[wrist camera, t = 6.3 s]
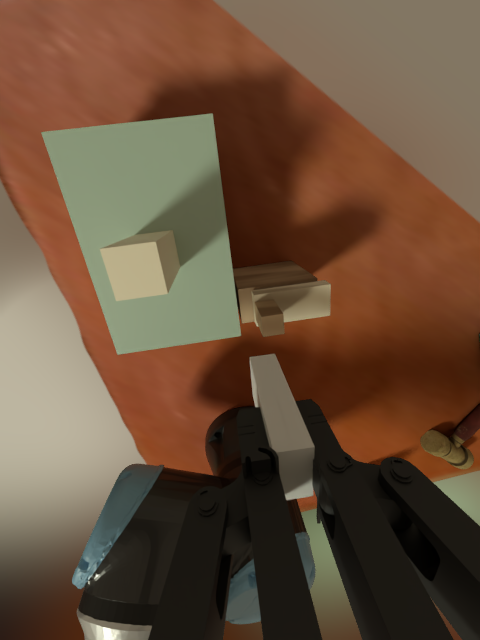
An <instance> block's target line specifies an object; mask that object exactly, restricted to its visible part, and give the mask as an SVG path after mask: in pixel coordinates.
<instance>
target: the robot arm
mask: <svg viewBox="0 0 480 640" xmlns="http://www.w3.org/2000/svg"><path fill="white" fill-rule="evenodd" d="M249 358H250V370H251V381H252V393H253V399H254V403H255V407H253V406H247V407H240V408H236V409H232V410H230V411H228V412H226V413H224V414H222V415H221V416H219V417H218V418H217V419H216V420H215V421H214V422H213V423H212V424H211V425H210V427H209V429H208V431H207V434H206V441H205V450H206V456H207V459H208V462H209V464H210V467H211V470H212V472H213V475H214V476H213V475H207V474H201V473H195V472H189V471H183V470H177V469H171V468H165V467H164V465H159V466H154V465H145V464H132V465H129V466H128V467H126V468H125V469H124V470H123V471H122V472H121V473H120V475H119V477H118V479H117V480H116V482H115V484H114V487H113V488H112V491H111V493H110V495H109V497H108V499H107V501H106V503H105V505H104V508H103V510H102V512H101V514H100V516H99V519H98V521H97V523H96V525H95V527H94V530H93V532H92V534H91V536H90V538H89V541H88V543H87V545H86V547H85V550H84V552H83V555H82V557H81V560H80V562H79V564H78V567H77V568H76V570H75V573H74V575H73V578H72V583H73V584H74V585H75V586H77V588H78V589H82V587H85V588H84V592H83V595H82V598H81V601H80V604H79V607H78V610H77V616H78V618H79V621H80V623H81V626H82V628H83V631H84V635H85V640H223V635H224V627H225V620H226V621H227V620H228V621H229V622H230V623H233V624H248V623H255V622H259V621H261V623H262V632H263V640H322V637H321V633H320V629H319V625H318V621H317V617H316V614H315V610H314V606H313V602H312V598H311V594H310V588H311V587H312V585H313V582H314V578H315V564H314V560H313V556H312V551H311V547H310V538H309V535H308V533H307V531H306V528H305V525H304V522H303V518H302V515H301V512H300V509H299V506H298V502H297V498H303V497H310V496H313V488H314V491H315V494H316V497H317V523H320V521H322V524H323V527H324V530H325V532H326V535H327V538H328V541H329V544H330V547H331V550H332V553H333V556H334V558H335V561H336V564H337V567H338V570H339V573H340V576H341V579H342V582H343V585H344V588H345V590H346V593H347V596H348V599H349V602H350V605H351V608H352V611H353V614H354V616H355V619H356V622H357V625H358V628H359V631H360V634H361V637H362V640H453V638H452V636H451V634H450V632H449V631H448V629H447V627H446V625H445V623H444V621H443V620H442V618H441V616H440V614H439V612H438V611H437V609H436V607H435V605H434V603H435V604H436V605H437V606H438V608H439V609H440V611H441V612H442V613H443V615H444V616H445V617H446V619H447V620H448V621H449V623H450V624H451V625H452V627H453V628H454V629H455V631H456V632H457V633H458V635H459V636H460V637H461V638H462V640H480V526H479V525H478V524H477V523H475V522H474V520H472V519H471V518H470V517H469V516H468V515H467V514H466V513H465V512H464V511H463V510H462V509H460V507H458V506H457V505H456V504H455V503H454V502H453V501H452V500H451V499H450V498H449V497H448V496H446V495H445V494H444V493H443V492H442V491H441V490H440V489H439V488H438V487H437V486H436V485H435V484H434V483H433V482H431V481H430V480H429V479H428V478H427V477H426V476H425V475H424V474H423V473H422V472H421V471H420V470H419V469H417V468H416V467H415V466H414V465H412V464H411V463H410V462H408V461H406V460H404V459H401V458H396V457H390V458H386V459H384V460H383V461H382V462H381V465H374V464H367V463H362V462H359V461H356V460H354V459H353V458H352V457H351V456H350V455H348V454H347V453H345V452H344V451H343V450H342V448H341V446H340V445H339V443H338V441H337V439H336V437H335V435H334V433H333V431H332V430H331V428H330V426H329V424H328V423H327V420H326V418H325V416H324V415H323V413H322V411H321V409H320V407H319V405H317V404H316V403H315V402H314V401H313V400H311V399H308V400H301V401H295V400H294V397H293V395H292V393H291V390H290V388H289V386H288V383H287V381H286V379H285V376H284V374H283V372H282V369H281V367H280V365H279V362H278V360H277V357H276V355H275V354H269V355H262V356H254V357H249ZM430 597H431V598H430ZM431 599H432V600H433V601H434V603H433V602H432V600H431Z"/></svg>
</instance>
